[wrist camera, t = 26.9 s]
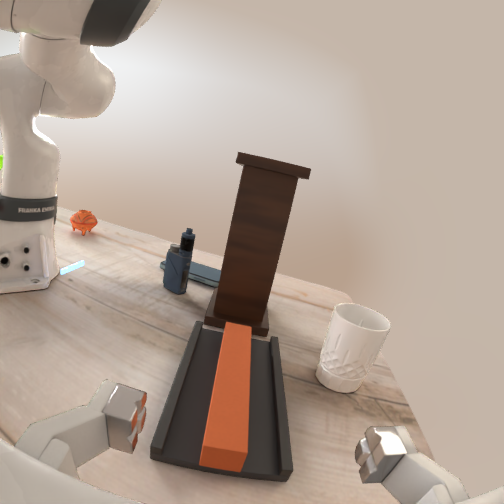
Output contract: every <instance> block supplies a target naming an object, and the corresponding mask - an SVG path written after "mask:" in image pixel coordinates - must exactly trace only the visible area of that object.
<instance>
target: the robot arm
mask: <svg viewBox="0 0 504 504" xmlns="http://www.w3.org/2000/svg"><path fill="white" fill-rule="evenodd" d="M161 1H162V0H0V29H1V30H6V31H10V32H15V33H19V32H20V43H19V44H20V45H19V51H20V53H18V54H12V55H7V56H2V57H0V130H1V135H2V140H3V166H2V181H1V192H0V293H10V292H20V291H29V290H39V289H45V288H47V287H48V286H49V283H50V281H51V280H52V279H53V278H54V277H56V276H57V275H58V273H59V271H60V268H59V265H58V261H57V256H56V250H55V240H54V224H55V221H56V213H57V195H56V188H57V179H58V172H59V165H60V151H59V149H58V147H57V146H56V144H55V143H53V142H52V141H51V140H50V139H49V138H47V137H46V136H44V135H43V134H41V133H40V132H39V131H37V129H36V128H35V117H36V116H50V117H61V118H70V119H75V118H89V117H97V116H99V115H100V114H101V113H102V112H103V111H105V109H106V108H107V107H108V106H109V104H110V103H111V100H112V98H113V96H114V93H115V77H114V74H113V72H112V70H111V69H110V68H109V67H108V66H106V65H105V64H103V63H102V62H101V61H100V60H99V59H98V58H97V56H96V55H95V53H94V51H93V48H92V46H102V47H112V46H114V45H116V44H119V43H121V42H123V41H125V40H127V39H128V37H129V36H130V35H131V34H132V33H134V32H135V31H136V30H138V29H139V28H140V27H141V26H142V25H143V24H144V23H145V22H146V21H148V20H149V18H150V17H151V16H152V15H153V14H154V12H155V11H156V9H157V8H158V6H159V5H160V3H161ZM81 266H84V261H80V262H77V263H75V264H72V265H70V266H67V267H65V268H62V269H61V275H62V274H65V273H67V272H69V271H72V270H74V269H76V268H79V267H81ZM146 398H147V393H146V392H144V391H141V390H138V389H134V388H132V387H129V386H126V385H123V384H120V383H116V382H113V381H111V380H108V379H106V380H104V381H103V382H102V384H101V385H100V387H99V388H98V390H97V391H96V393H95V394H94V396H93V398H92V399H91V401H90V402H89V404H88V405H87V406H84V405H82V406H79V407H77V408H74V409H71V410H69V411H66V412H63V413H61V414H58V415H55V416H52V417H49V418H46V419H44V420H41V421H38V422H35V423H32V424H30V425H29V427H28V428H27V429H26V430H25V432H24V433H23V435H22V436H21V437H20V439H19V440H18V441H17V443H16V444H15V445H14V446H12V445H11V444H9V443H8V442H6V441H4V440H3V439H1V438H0V504H145V503H142V502H138V501H135V500H132V499H129V498H126V497H123V496H120V495H117V494H114V493H111V492H108V491H106V490H103V489H100V488H98V487H95V486H93V485H90V484H88V483H85V482H83V481H80V479H79V476H78V473H77V470H76V468H77V467H79V466H81V465H82V464H84V463H86V462H87V461H89V460H91V459H92V458H94V457H96V456H97V455H99V454H101V453H102V452H104V451H105V450H107V449H109V447H111V448H114V449H117V450H120V451H123V452H127V453H130V454H133V451H134V449H135V446H136V444H137V441H138V434H139V433H141V431H142V428H143V425H144V422H145V417H146V408H145V407H144V405H145V402H146ZM355 459H356V463H357V464H359V465H360V466H361V468H360V470H359V473H360V476H361V480H362V483H381V484H382V485H383V486H384V487H385V488H386V489H387V490H388V491H389V492H390V493H391V494H392V495H393V496H394V497H395V498H396V499H397V500H398V501H399V502H400V503H401V504H504V486H502V487H500V488H497V489H495V490H492V491H490V492H487V493H484V494H481V495H479V496H476V497H473V498H469V496H468V494H467V492H466V490H465V488H464V486H463V484H462V482H461V480H460V479H459V478H458V477H456V476H454V475H453V474H452V473H450V472H449V471H447V470H446V469H444V468H442V467H441V466H439V465H438V464H437V463H435V462H434V461H432V460H431V459H430V458H428V457H427V456H425V455H424V454H422V453H418V451H417V449H416V447H415V445H414V443H413V441H412V439H411V437H410V435H409V433H408V431H407V429H406V428H405V427H404V426H371V427H369V428H368V429H367V430H366V432H365V438H363V439H362V440H360V441H359V443H358V444H357V446H356V450H355Z"/></svg>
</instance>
